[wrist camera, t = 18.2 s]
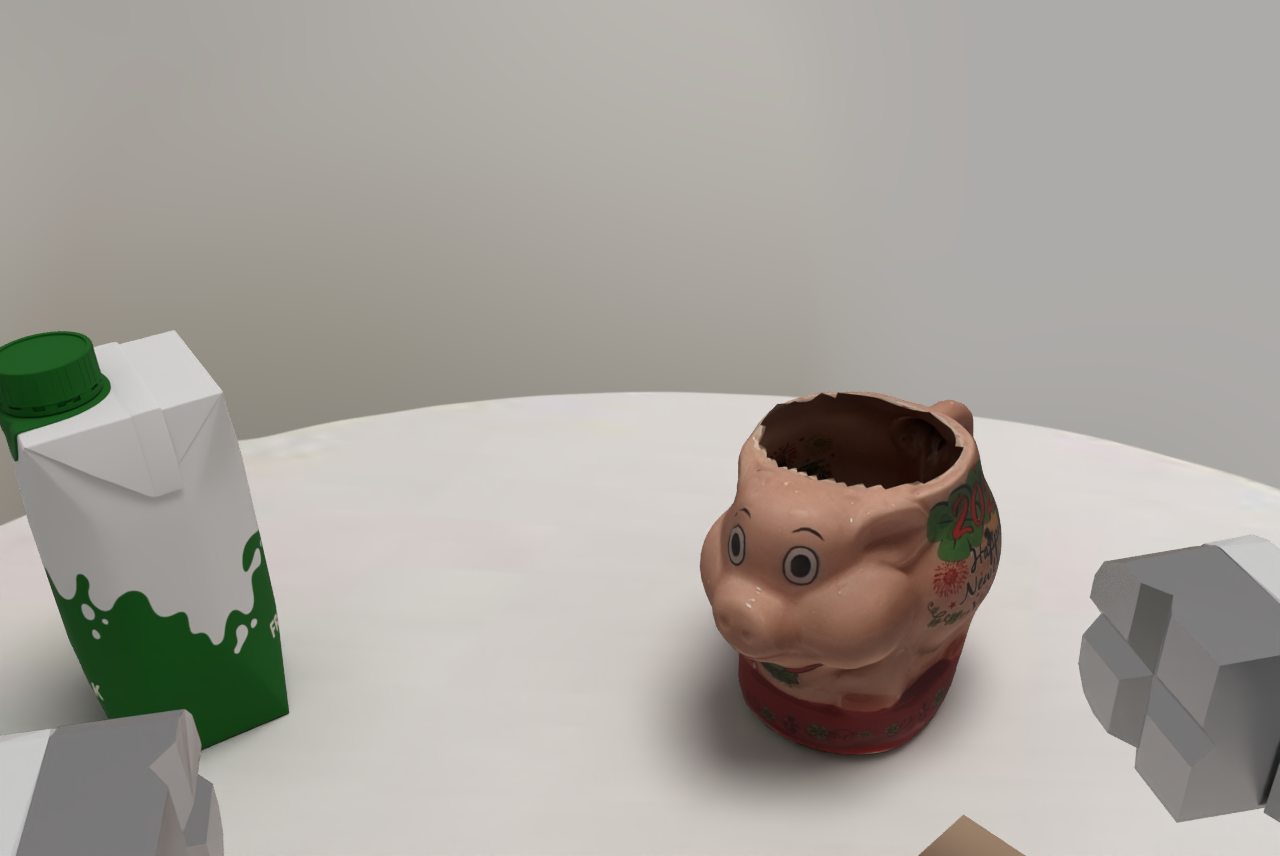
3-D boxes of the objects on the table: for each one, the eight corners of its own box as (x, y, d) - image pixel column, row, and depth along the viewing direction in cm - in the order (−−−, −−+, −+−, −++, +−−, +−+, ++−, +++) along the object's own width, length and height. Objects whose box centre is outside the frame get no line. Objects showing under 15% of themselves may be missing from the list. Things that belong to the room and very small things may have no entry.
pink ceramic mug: (834, 534, 71) (846, 316, 64) (1042, 603, 65) (1081, 370, 58) (641, 745, 57) (630, 495, 50) (884, 858, 51) (910, 591, 44)
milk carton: (83, 689, 62) (-41, 330, 52) (259, 622, 66) (176, 278, 56) (125, 797, 55) (-7, 411, 45) (317, 715, 59) (235, 345, 49)
